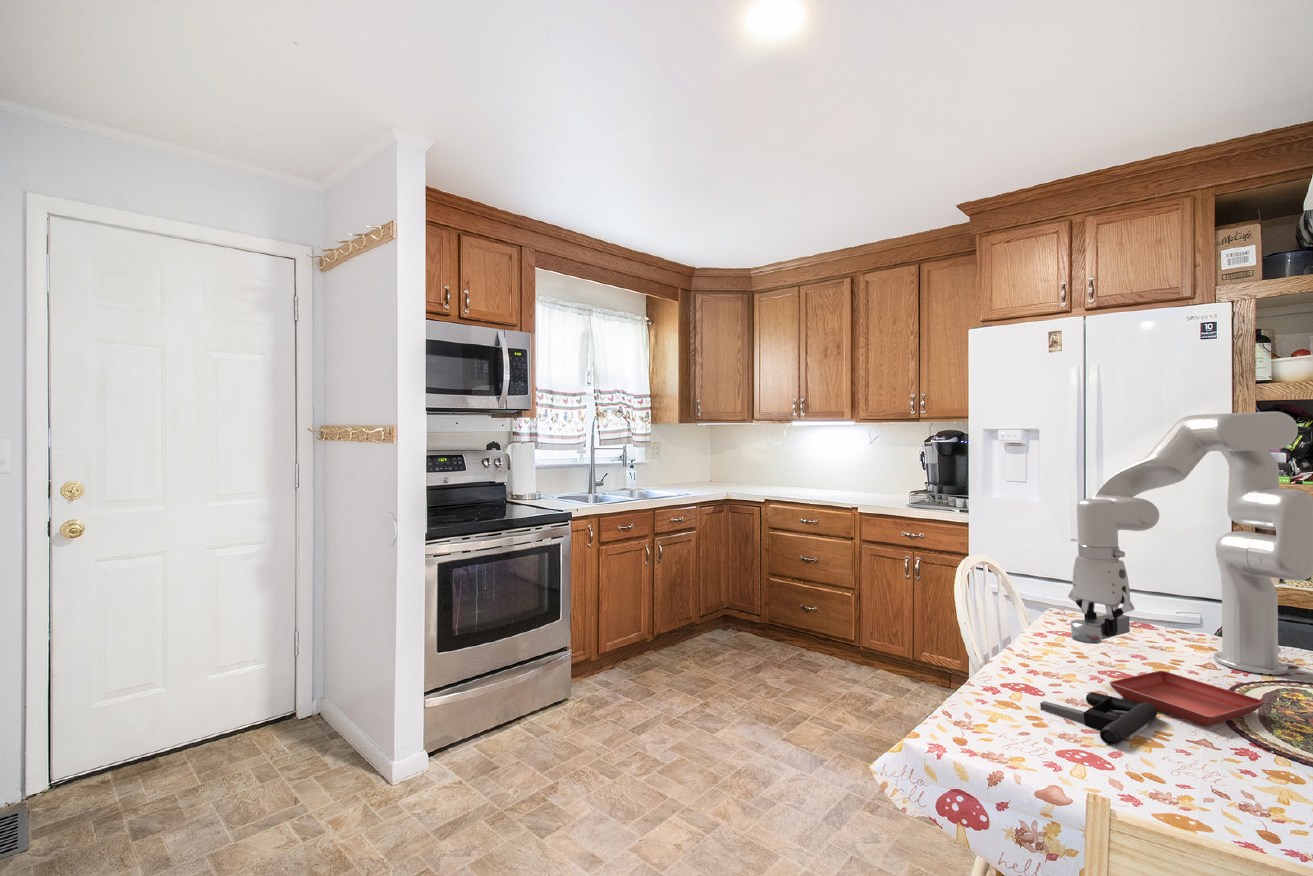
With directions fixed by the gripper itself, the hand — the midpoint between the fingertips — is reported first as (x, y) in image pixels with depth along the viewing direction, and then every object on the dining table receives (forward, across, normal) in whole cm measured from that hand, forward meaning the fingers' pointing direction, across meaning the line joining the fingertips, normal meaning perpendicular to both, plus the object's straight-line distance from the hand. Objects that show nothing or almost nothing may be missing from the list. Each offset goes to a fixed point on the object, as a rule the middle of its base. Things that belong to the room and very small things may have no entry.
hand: (1101, 632), depth 139 cm
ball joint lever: (+1, 0, 0) cm, 1 cm away
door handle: (+10, -13, +26) cm, 30 cm away
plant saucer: (+10, -17, +3) cm, 20 cm away
